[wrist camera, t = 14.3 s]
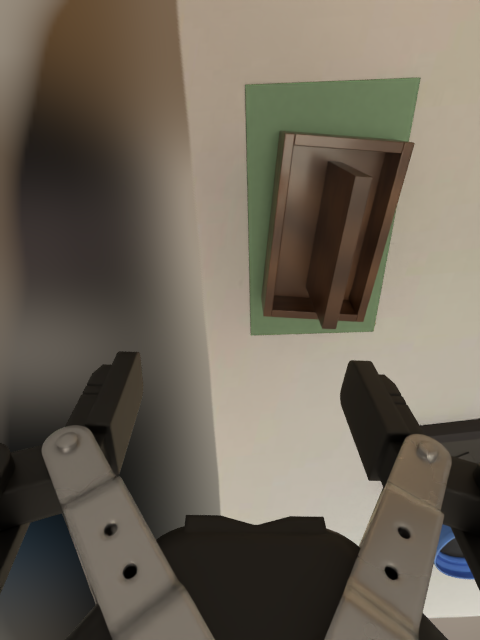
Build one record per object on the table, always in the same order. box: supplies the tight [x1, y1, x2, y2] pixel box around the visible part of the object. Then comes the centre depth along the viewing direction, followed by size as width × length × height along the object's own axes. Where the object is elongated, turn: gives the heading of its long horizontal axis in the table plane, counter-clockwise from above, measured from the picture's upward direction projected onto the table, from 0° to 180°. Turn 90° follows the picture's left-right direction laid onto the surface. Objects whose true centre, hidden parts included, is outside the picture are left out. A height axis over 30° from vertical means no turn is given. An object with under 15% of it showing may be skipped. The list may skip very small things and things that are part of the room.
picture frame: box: [420, 419, 480, 464], centre depth 50 cm, size 13×2×18 cm
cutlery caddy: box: [261, 131, 414, 329], centre depth 30 cm, size 16×10×9 cm, turn 176°
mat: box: [245, 78, 420, 335], centre depth 34 cm, size 24×14×1 cm, turn 2°
